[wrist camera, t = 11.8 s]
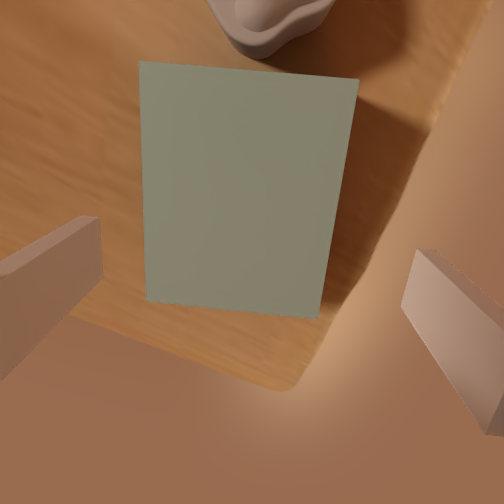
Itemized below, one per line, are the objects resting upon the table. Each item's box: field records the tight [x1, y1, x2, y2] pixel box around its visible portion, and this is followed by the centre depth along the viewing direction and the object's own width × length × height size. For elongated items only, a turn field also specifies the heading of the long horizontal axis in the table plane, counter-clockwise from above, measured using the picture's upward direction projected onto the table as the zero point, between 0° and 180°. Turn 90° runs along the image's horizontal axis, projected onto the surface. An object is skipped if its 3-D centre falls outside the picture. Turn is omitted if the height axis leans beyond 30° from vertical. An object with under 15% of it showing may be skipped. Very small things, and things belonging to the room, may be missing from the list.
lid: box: [139, 61, 360, 319], centre depth 30 cm, size 20×16×1 cm
